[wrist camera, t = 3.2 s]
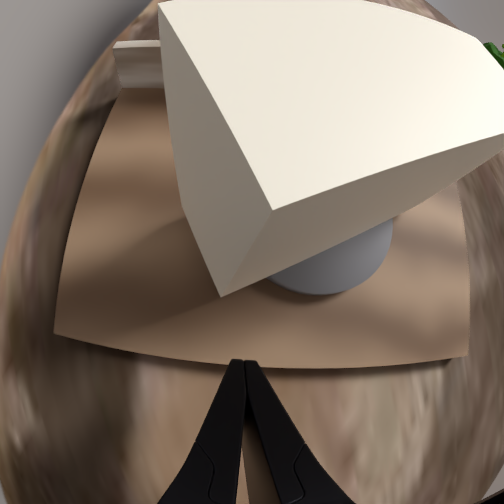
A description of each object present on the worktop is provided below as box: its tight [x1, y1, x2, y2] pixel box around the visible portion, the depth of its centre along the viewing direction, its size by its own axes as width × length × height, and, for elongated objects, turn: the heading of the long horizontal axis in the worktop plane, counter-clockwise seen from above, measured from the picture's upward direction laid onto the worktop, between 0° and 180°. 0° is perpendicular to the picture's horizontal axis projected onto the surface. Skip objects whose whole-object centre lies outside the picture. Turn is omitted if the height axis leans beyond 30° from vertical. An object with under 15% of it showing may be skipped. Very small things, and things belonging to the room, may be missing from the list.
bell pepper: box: [483, 43, 504, 70], centre depth 27 cm, size 8×8×10 cm
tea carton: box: [158, 0, 504, 297], centre depth 11 cm, size 10×14×12 cm
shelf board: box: [54, 40, 470, 368], centre depth 15 cm, size 18×28×6 cm, turn 85°
